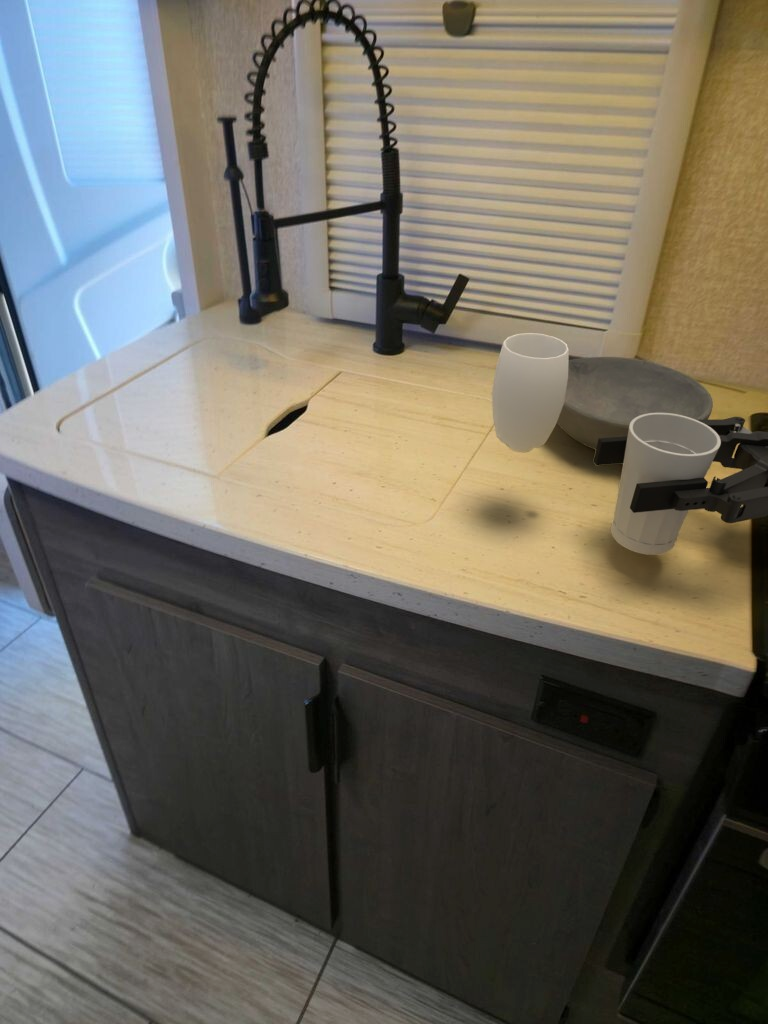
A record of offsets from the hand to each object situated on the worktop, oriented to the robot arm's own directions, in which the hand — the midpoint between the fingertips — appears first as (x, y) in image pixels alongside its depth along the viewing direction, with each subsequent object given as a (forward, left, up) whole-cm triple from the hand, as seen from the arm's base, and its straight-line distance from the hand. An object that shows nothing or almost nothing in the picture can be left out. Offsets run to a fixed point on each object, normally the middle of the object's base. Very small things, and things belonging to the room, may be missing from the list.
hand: (615, 474), depth 63 cm
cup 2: (-2, -4, -8) cm, 10 cm away
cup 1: (+11, +1, -12) cm, 16 cm away
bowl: (+16, -22, -12) cm, 30 cm away
